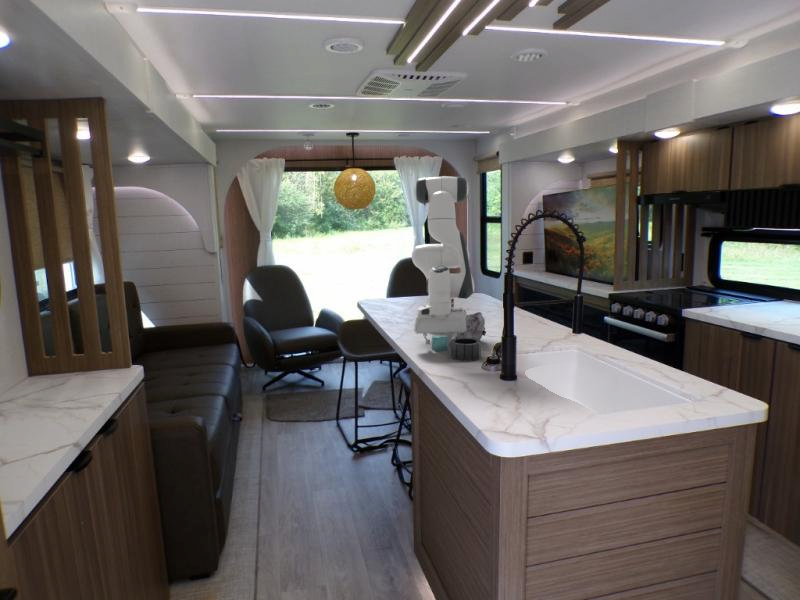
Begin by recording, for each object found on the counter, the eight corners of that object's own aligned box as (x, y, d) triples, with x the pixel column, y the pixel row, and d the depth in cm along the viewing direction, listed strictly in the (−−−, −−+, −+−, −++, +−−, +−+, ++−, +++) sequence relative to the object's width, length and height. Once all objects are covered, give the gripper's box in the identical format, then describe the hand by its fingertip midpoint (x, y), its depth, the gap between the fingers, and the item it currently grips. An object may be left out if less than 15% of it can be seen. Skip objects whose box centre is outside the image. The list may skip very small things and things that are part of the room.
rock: (479, 354, 210) (494, 319, 209) (456, 345, 209) (472, 310, 208) (466, 342, 232) (480, 310, 231) (445, 334, 231) (459, 302, 229)
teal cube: (431, 347, 212) (431, 335, 212) (446, 347, 213) (446, 335, 212) (432, 351, 206) (432, 338, 206) (448, 351, 207) (448, 338, 206)
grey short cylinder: (448, 353, 202) (448, 338, 201) (477, 353, 203) (477, 337, 202) (453, 361, 191) (452, 345, 190) (483, 360, 192) (483, 344, 191)
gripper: (465, 306, 210) (465, 341, 212) (413, 308, 209) (413, 342, 211) (467, 309, 204) (467, 345, 206) (414, 310, 203) (414, 346, 205)
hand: (439, 343), depth 209 cm, fingers open, 8 cm apart
